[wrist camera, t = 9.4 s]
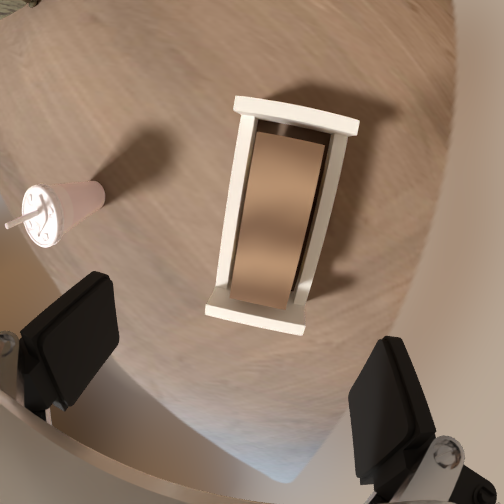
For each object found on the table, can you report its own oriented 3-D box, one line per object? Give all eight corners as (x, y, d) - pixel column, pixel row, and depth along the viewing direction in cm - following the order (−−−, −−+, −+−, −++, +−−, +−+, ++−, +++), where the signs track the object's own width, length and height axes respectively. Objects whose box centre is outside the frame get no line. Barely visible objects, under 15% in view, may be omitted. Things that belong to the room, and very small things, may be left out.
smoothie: (119, 180, 29) (26, 212, 16) (107, 228, 31) (26, 278, 18) (81, 163, 29) (-9, 186, 16) (72, 209, 31) (-9, 247, 18)
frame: (248, 105, 24) (235, 95, 19) (345, 125, 24) (359, 120, 18) (219, 285, 32) (204, 314, 26) (301, 302, 31) (302, 335, 26)
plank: (263, 134, 23) (256, 131, 19) (319, 145, 23) (324, 145, 19) (238, 275, 29) (229, 298, 25) (287, 285, 28) (285, 310, 24)
